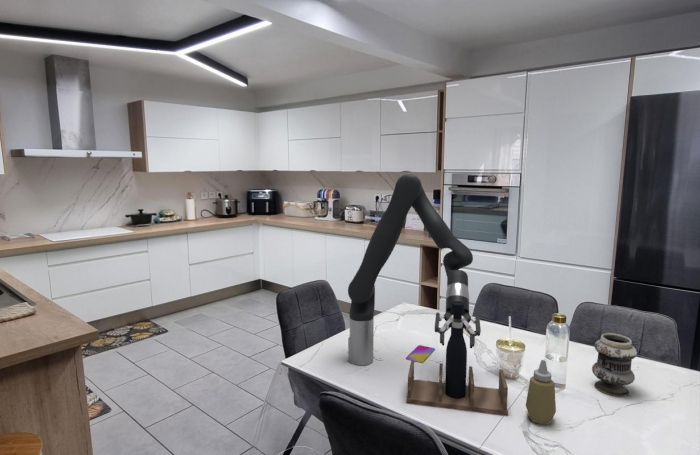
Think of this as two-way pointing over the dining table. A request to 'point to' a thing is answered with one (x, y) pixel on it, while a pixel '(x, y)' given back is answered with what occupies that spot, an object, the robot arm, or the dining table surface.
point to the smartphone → (420, 354)
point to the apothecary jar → (614, 364)
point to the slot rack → (473, 400)
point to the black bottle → (456, 355)
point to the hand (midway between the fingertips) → (457, 345)
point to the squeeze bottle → (541, 396)
